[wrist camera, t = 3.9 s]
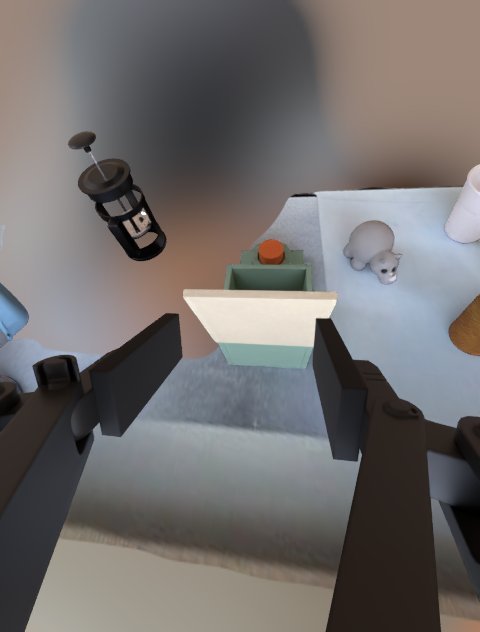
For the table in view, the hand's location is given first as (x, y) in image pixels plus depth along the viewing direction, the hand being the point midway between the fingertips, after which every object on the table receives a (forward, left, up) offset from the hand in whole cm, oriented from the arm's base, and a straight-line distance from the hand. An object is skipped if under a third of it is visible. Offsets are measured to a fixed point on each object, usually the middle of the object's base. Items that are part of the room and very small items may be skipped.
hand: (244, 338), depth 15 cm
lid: (0, +7, -12) cm, 13 cm away
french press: (-28, +33, -30) cm, 52 cm away
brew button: (0, +27, -26) cm, 37 cm away
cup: (+36, +36, -30) cm, 59 cm away
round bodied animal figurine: (+18, +27, -30) cm, 44 cm away
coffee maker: (0, +13, -30) cm, 32 cm away
